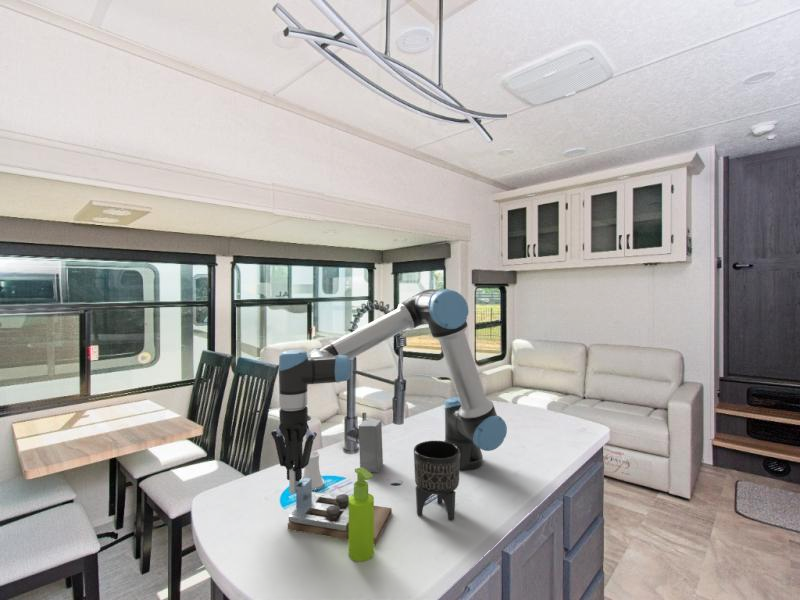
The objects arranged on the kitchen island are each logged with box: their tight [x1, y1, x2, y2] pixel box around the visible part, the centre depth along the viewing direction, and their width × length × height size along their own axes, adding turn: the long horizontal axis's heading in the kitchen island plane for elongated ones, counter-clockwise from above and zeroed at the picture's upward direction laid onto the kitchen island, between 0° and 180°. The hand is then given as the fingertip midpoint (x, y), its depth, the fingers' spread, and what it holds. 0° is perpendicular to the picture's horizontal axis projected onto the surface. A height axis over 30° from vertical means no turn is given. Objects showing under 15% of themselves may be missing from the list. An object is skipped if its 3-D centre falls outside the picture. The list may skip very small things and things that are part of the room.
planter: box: [413, 440, 461, 522], centre depth 112 cm, size 13×13×18 cm
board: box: [287, 493, 393, 546], centre depth 107 cm, size 24×14×5 cm, turn 75°
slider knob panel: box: [288, 478, 349, 531], centre depth 108 cm, size 16×13×7 cm
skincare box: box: [358, 419, 384, 473], centre depth 140 cm, size 8×7×16 cm
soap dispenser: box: [348, 466, 375, 563], centre depth 94 cm, size 6×7×20 cm
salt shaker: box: [299, 450, 325, 491], centre depth 127 cm, size 8×8×10 cm
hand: (294, 491), depth 111 cm, fingers closed
